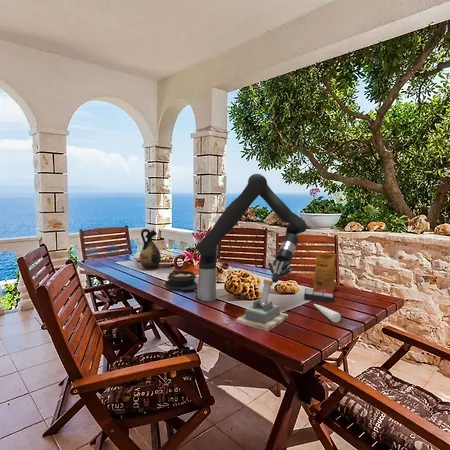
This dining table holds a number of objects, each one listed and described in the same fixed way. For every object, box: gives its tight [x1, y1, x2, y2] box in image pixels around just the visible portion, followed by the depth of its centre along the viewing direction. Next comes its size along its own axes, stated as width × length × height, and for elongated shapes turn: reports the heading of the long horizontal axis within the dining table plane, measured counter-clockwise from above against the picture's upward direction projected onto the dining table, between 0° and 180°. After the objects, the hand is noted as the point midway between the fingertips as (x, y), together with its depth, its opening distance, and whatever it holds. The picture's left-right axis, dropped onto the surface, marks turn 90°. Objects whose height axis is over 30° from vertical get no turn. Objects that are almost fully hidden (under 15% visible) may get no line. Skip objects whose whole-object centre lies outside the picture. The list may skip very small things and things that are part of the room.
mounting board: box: [235, 311, 289, 333], centre depth 147 cm, size 19×16×2 cm
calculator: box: [303, 287, 335, 304], centre depth 177 cm, size 11×4×15 cm
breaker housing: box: [244, 298, 281, 324], centre depth 146 cm, size 14×10×7 cm
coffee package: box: [312, 252, 337, 292], centre depth 191 cm, size 10×12×22 cm
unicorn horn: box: [313, 303, 342, 324], centre depth 156 cm, size 5×24×5 cm, turn 5°
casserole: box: [164, 270, 198, 291], centre depth 195 cm, size 25×19×8 cm
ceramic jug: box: [139, 228, 162, 271], centre depth 239 cm, size 17×15×30 cm
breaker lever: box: [258, 278, 274, 307], centre depth 147 cm, size 3×4×12 cm
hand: (273, 281), depth 153 cm, fingers closed
